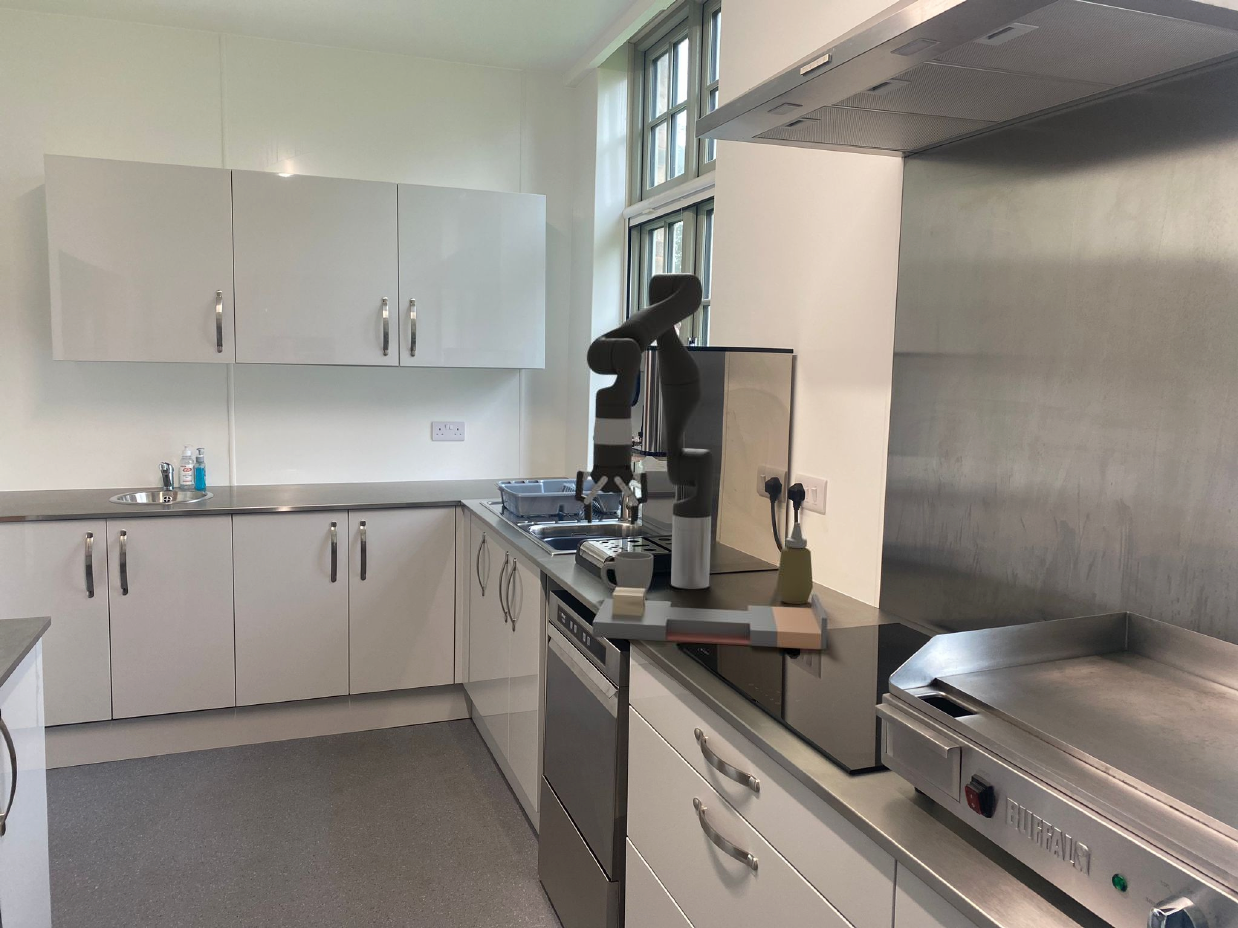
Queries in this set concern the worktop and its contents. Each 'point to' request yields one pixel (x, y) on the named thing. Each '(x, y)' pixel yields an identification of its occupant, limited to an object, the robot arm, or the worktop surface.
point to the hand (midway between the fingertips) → (611, 523)
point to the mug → (630, 570)
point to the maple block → (628, 601)
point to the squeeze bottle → (795, 569)
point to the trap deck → (718, 625)
